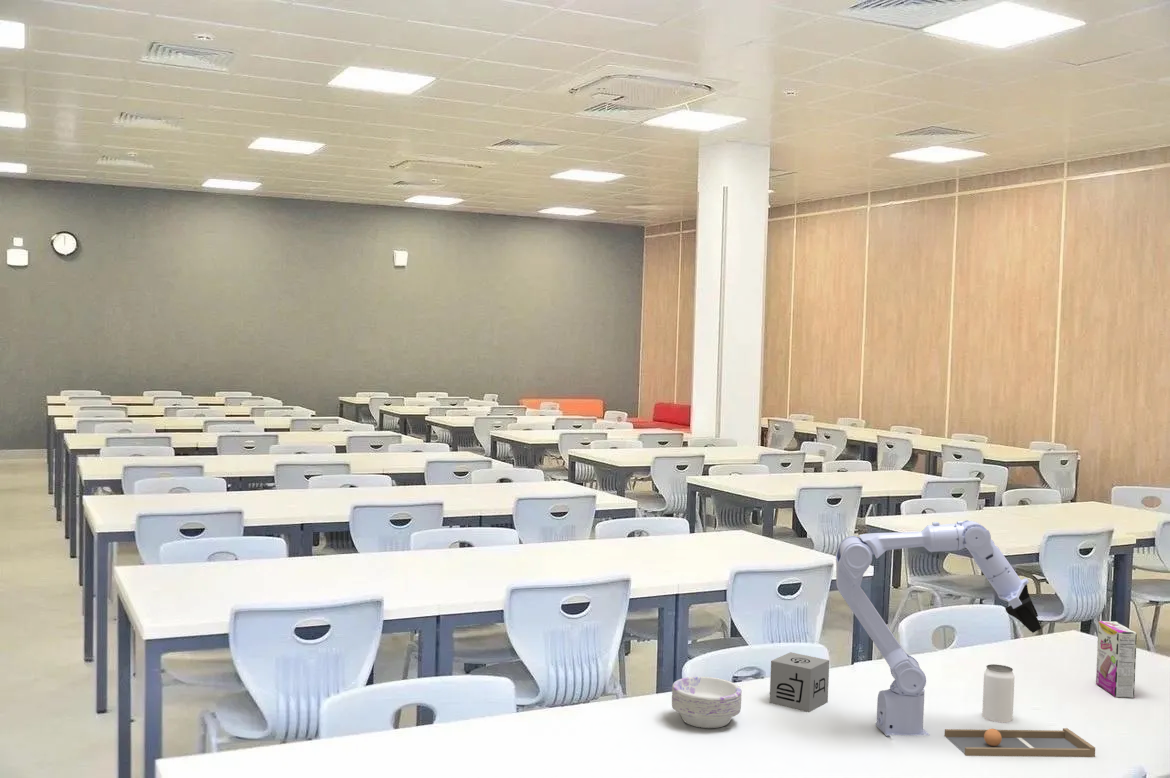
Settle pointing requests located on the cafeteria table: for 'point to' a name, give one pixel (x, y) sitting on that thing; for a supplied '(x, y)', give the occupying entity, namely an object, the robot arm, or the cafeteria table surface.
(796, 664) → the icon cube
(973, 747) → the lane
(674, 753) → the cafeteria table surface
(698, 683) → the paper bowls
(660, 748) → the cafeteria table surface
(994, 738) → the ball
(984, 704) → the can
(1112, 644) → the candy bar box
